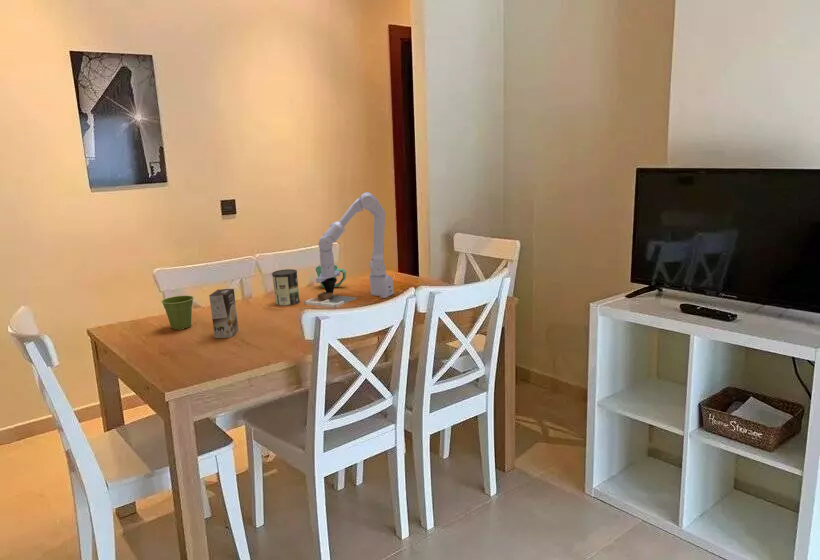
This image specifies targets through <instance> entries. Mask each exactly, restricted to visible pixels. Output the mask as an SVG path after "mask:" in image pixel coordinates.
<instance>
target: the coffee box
mask: <svg viewBox="0 0 820 560" xmlns="http://www.w3.org/2000/svg"><path fill="white" fill-rule="evenodd" d="M208 296H209V302H210V303H209V304H210V311H211V318H212V319H211V320H212V326H213V334H214V335H213V336H214V339H230V338H233V336H235V335H236V333H237V332H238V331H239V321H238V312H237V306H236V305H237V304H236V297H235V289H234V288H225V289H223V288H222V289H216V290H215V291H214V292H212V293H211V294H209V295H208Z"/></svg>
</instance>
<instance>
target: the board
mask: <svg viewBox="0 0 820 560" xmlns="http://www.w3.org/2000/svg"><path fill="white" fill-rule="evenodd" d="M356 299H358V297H354V296H346V295H345V296H344V295H335V294H333V299H330V300H329V299H327V300H325V301H320V300H318V298H317V299H316V298H315V297H312V298H310V299H307V300H304V301H303V303H304V304H303V305H307V306H314V307H315V306H317V307H324V308H325V307H326V308H334V309H335V308H338V307H341V306H343V305H345V304H347V303H350V302H351V301H355V300H356Z"/></svg>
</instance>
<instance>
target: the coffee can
mask: <svg viewBox="0 0 820 560" xmlns="http://www.w3.org/2000/svg"><path fill="white" fill-rule="evenodd" d="M271 275H272V282H273V289H274V301H275V305H276V306H279V307H280V306H281V307H288V306H293V305H297V304H299V303H300V302H301V301H300V300H301V299H300V292H299V283H298V281H299V280H298V271H297V269H292V268H286V269H279V270H275V271H273V272H272V273H271Z"/></svg>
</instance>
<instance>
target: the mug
mask: <svg viewBox="0 0 820 560" xmlns="http://www.w3.org/2000/svg"><path fill="white" fill-rule="evenodd" d="M334 269H335V271H340V273H342V278H341V280H340V281H339V282H337V283H335V286H334V288H336V287H339V286H342V284H343V282H344V281H345V280H346V279H347V270H345V269H344V268H338V265H336V264H334ZM315 272H316V274H317V278H318V277H319V276H320V274H321V265H318V266H316V267H315ZM334 278H336V279H337V276H336V277H334ZM319 284H320V286H321V288H323V289H325V288H324V286H323V285H322V283H319Z"/></svg>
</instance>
